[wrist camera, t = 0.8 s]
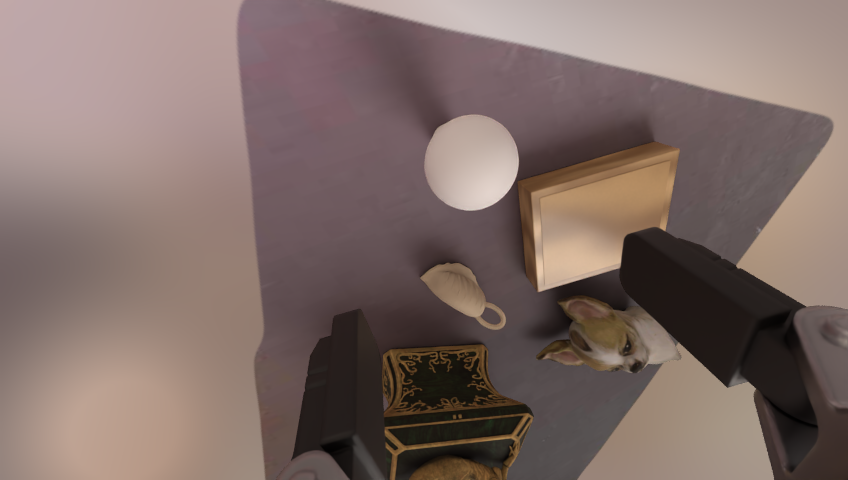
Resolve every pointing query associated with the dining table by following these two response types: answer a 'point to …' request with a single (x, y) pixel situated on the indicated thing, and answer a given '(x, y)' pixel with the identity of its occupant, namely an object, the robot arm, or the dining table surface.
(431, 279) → the decorative ornament
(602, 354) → the ceramic sculpture
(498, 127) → the lightbulb
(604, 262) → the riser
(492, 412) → the decorative box
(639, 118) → the dining table surface
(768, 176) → the dining table surface
